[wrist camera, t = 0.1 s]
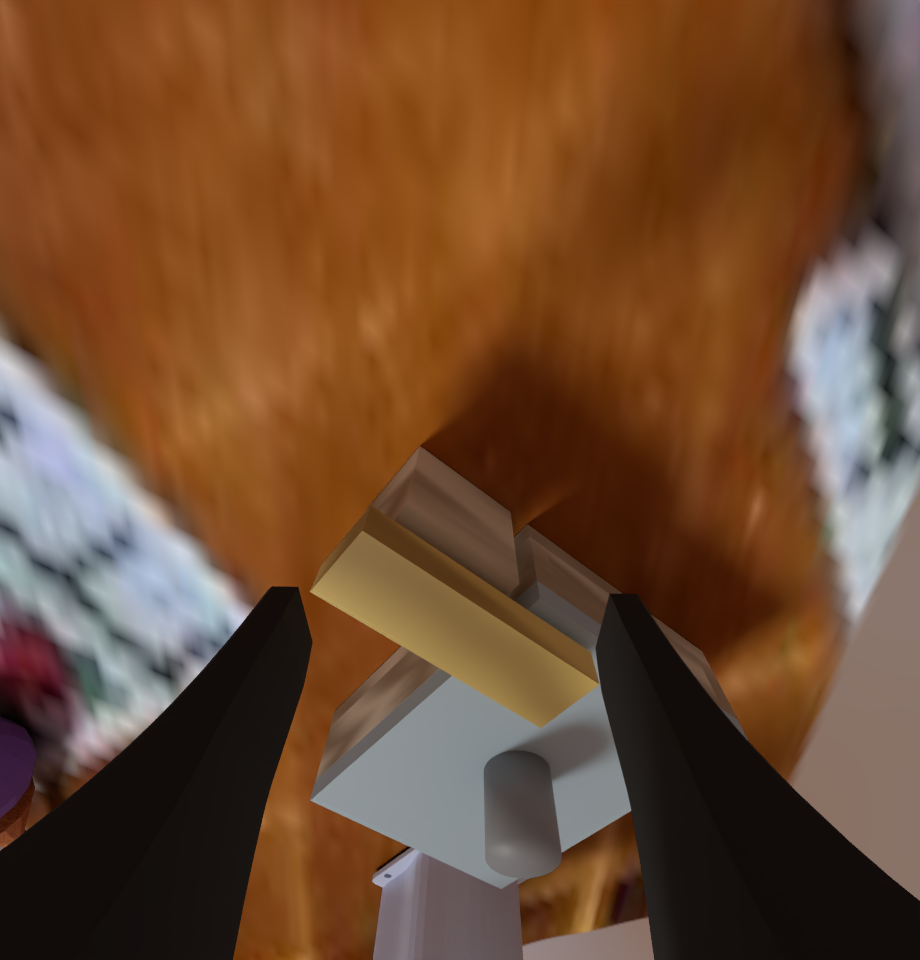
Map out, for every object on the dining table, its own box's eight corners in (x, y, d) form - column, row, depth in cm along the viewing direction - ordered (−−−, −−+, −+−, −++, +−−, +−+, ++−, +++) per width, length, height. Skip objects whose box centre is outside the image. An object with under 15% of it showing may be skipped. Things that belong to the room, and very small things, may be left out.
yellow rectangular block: (536, 694, 21) (540, 728, 19) (322, 563, 18) (310, 591, 17) (590, 652, 20) (599, 684, 18) (371, 505, 17) (362, 530, 16)
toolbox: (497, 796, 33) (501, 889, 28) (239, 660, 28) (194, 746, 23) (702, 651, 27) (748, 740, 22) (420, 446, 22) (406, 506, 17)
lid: (499, 848, 30) (504, 973, 25) (321, 761, 27) (287, 884, 22) (727, 700, 24) (792, 826, 19) (534, 564, 21) (553, 674, 16)
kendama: (-7, 946, 35) (-179, 786, 25) (67, 849, 40) (-49, 682, 30) (69, 973, 34) (-75, 820, 24) (135, 870, 39) (41, 706, 29)
